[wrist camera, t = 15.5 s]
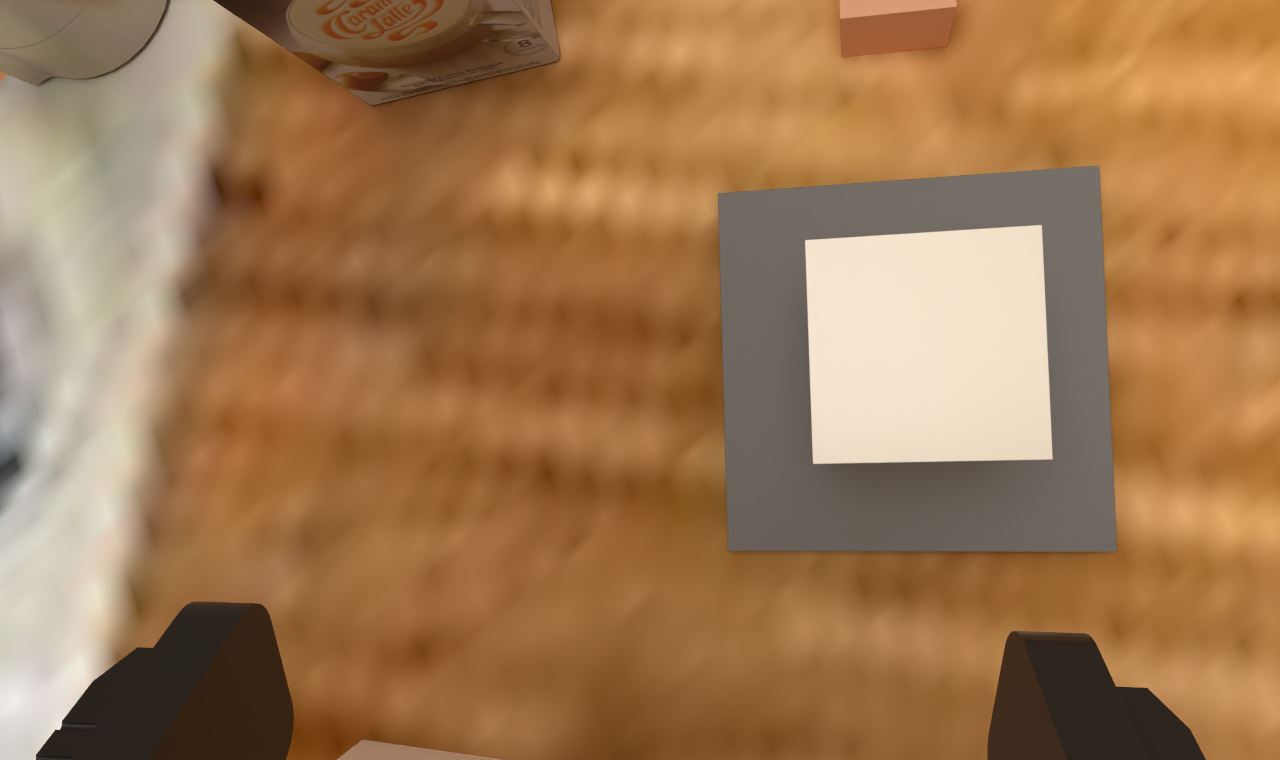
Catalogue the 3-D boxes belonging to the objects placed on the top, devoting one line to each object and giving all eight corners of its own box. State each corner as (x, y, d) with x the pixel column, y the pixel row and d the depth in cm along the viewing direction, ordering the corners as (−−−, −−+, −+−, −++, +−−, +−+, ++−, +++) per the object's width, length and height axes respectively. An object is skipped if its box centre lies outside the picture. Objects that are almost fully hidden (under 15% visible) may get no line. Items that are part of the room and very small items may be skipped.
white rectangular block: (999, 448, 37) (1052, 459, 27) (823, 452, 38) (812, 463, 28) (992, 276, 37) (1041, 224, 27) (817, 285, 38) (804, 240, 29)
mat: (1110, 548, 37) (1116, 551, 36) (731, 547, 40) (728, 551, 39) (1092, 172, 38) (1099, 165, 37) (721, 198, 40) (717, 193, 39)
